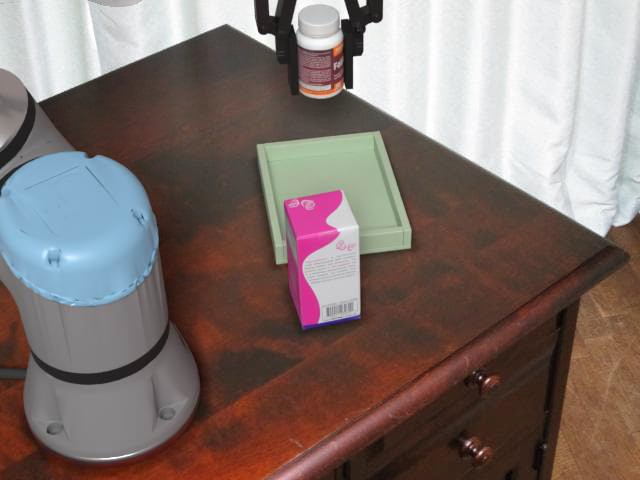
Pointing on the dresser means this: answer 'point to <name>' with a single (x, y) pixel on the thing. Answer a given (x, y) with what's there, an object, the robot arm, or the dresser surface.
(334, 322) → the supplement box
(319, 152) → the tray
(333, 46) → the pill bottle
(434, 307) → the dresser surface
